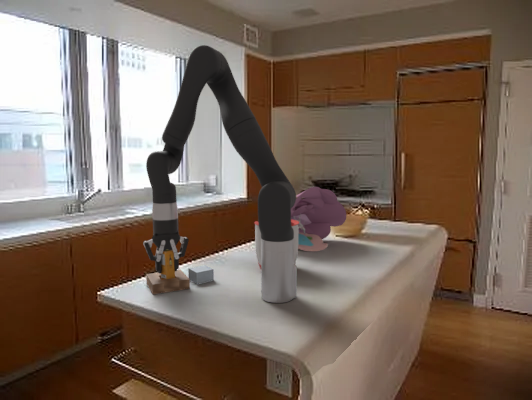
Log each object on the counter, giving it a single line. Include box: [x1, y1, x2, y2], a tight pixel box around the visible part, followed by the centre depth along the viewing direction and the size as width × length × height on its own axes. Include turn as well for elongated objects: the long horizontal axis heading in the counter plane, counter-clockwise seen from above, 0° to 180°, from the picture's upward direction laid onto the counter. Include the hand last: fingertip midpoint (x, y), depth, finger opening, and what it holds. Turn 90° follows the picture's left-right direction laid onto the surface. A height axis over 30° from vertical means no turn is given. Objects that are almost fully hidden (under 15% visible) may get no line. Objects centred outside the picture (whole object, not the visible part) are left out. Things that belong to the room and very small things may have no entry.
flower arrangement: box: [291, 186, 347, 252], centre depth 175 cm, size 35×24×28 cm
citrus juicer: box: [253, 219, 299, 270], centre depth 142 cm, size 16×17×20 cm
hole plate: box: [145, 269, 191, 295], centre depth 126 cm, size 11×11×3 cm
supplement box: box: [160, 250, 175, 280], centre depth 125 cm, size 3×3×10 cm
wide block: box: [187, 264, 215, 285], centre depth 131 cm, size 6×6×4 cm
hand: (167, 271), depth 125 cm, fingers closed on supplement box, 4 cm apart
